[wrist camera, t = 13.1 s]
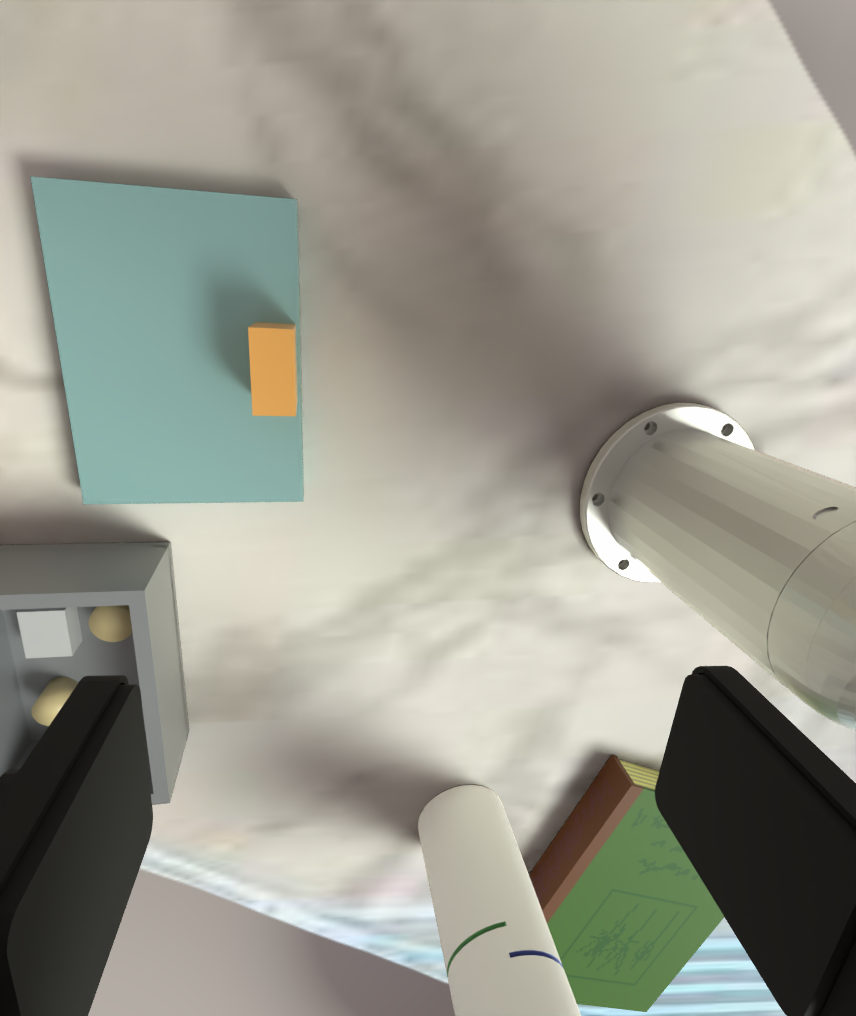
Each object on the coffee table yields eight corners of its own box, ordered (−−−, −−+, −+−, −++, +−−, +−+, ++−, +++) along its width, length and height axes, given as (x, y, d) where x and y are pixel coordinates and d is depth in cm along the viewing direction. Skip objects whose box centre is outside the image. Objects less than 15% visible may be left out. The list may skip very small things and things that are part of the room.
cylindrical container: (493, 849, 49) (653, 1342, 26) (411, 853, 47) (506, 1383, 25) (511, 784, 47) (705, 1261, 24) (426, 785, 45) (547, 1299, 22)
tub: (170, 541, 35) (144, 590, 29) (189, 730, 39) (169, 803, 34) (-20, 545, 33) (-87, 597, 27) (24, 743, 37) (-25, 822, 32)
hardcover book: (608, 749, 48) (631, 785, 45) (764, 796, 54) (794, 831, 51) (469, 953, 54) (480, 998, 51) (623, 975, 60) (642, 1016, 57)
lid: (297, 203, 30) (294, 186, 24) (303, 492, 35) (302, 527, 30) (45, 182, 27) (-16, 158, 22) (93, 494, 33) (53, 533, 28)
